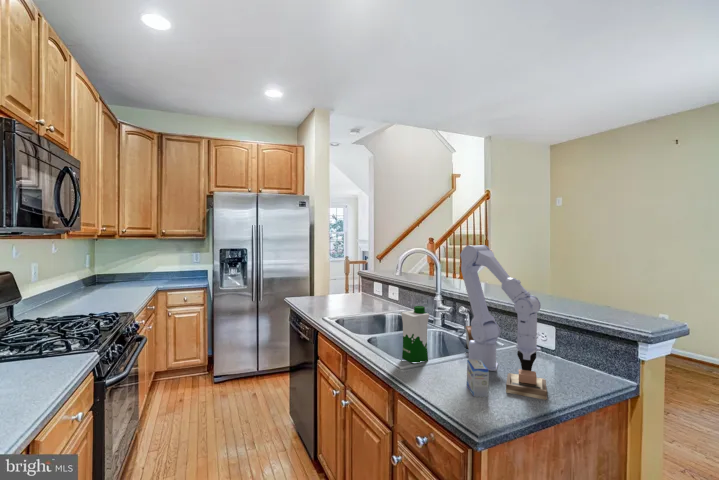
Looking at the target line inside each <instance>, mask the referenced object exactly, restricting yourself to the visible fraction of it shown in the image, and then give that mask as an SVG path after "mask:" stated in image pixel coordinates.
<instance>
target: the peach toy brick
mask: <svg viewBox="0 0 719 480" xmlns="http://www.w3.org/2000/svg"><path fill="white" fill-rule="evenodd" d="M518 375H519V383H522V382H523V383H529V384H533V385H534V386H536V382H537V378H538V376H537V372H536V371H533V370H531V371H528V370H522V368H521V369H520V368H519V369H518Z"/></svg>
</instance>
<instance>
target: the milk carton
mask: <svg viewBox="0 0 719 480" xmlns="http://www.w3.org/2000/svg"><path fill="white" fill-rule="evenodd" d="M413 309H414V310H413ZM413 309H412V310H406V311H402V312H401V313H400V314H401V319H402V320H401V321H402V354H401V358H402V359H403V360H404V361H406V362H408V363H410V362H420V361H425V362H428V361H429V355H428V353H429V352H428V322H429V319H430V313H428V312H426V309H425V306H423V305H414V306H413Z"/></svg>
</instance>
